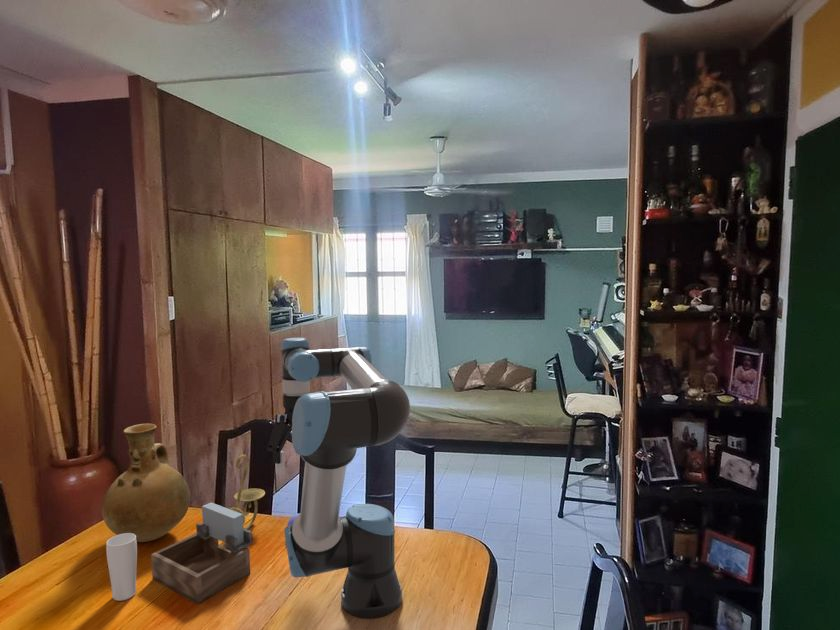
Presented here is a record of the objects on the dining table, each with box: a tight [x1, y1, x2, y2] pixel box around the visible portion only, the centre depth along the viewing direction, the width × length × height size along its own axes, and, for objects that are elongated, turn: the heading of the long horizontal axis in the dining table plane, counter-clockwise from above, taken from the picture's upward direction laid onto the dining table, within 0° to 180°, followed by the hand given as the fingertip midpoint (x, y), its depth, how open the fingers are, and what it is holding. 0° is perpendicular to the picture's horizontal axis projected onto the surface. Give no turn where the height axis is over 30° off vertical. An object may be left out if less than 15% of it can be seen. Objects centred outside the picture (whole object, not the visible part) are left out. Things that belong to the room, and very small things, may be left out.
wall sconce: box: [229, 454, 266, 530], centre depth 171 cm, size 14×10×25 cm
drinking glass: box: [105, 533, 138, 602], centre depth 137 cm, size 7×7×15 cm
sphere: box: [286, 512, 300, 527], centre depth 168 cm, size 7×7×7 cm
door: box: [201, 502, 244, 545], centre depth 152 cm, size 14×4×8 cm, turn 57°
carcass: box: [150, 522, 253, 605], centre depth 147 cm, size 20×18×11 cm
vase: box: [101, 423, 191, 543], centre depth 166 cm, size 24×24×35 cm
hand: (298, 466), depth 154 cm, fingers open, 13 cm apart
